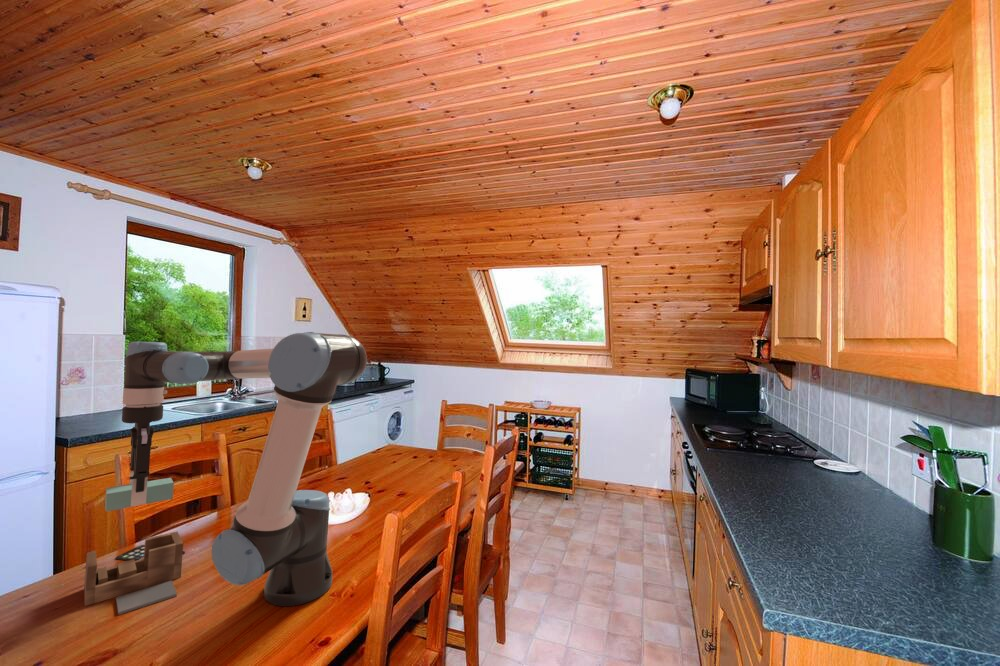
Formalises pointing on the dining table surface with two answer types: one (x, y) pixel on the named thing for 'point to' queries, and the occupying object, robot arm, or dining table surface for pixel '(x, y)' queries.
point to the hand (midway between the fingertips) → (137, 501)
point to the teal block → (122, 494)
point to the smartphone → (134, 554)
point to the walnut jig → (135, 570)
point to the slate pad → (145, 597)
